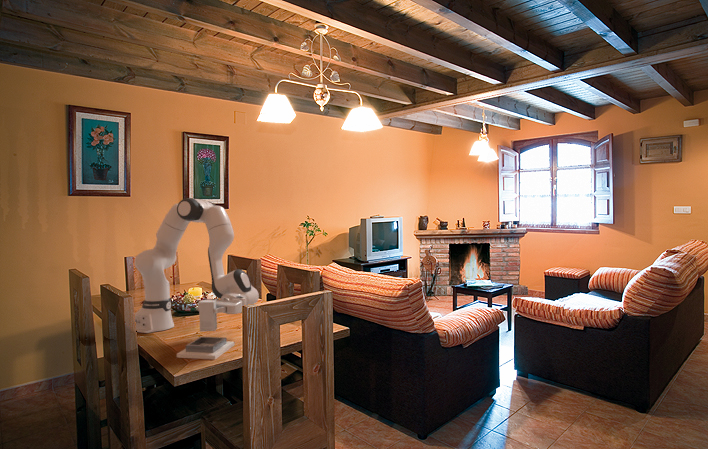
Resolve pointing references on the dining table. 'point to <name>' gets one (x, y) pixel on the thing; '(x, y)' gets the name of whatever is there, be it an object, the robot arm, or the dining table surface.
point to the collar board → (205, 355)
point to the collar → (196, 346)
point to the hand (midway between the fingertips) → (206, 310)
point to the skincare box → (207, 315)
